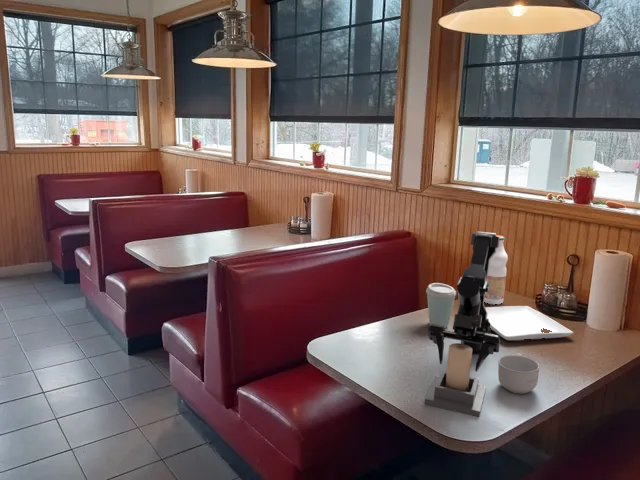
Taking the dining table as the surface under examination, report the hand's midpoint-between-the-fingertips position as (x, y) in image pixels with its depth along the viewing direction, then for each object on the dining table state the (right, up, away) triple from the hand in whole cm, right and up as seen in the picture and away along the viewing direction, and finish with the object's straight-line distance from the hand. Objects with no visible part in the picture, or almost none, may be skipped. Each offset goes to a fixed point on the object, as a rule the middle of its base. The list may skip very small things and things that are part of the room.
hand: (458, 367), depth 138 cm
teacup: (+20, -8, +11) cm, 24 cm away
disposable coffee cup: (+7, +2, +54) cm, 54 cm away
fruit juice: (+36, +8, +83) cm, 90 cm away
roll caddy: (0, -9, +3) cm, 10 cm away
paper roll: (0, -8, +3) cm, 8 cm away
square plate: (+36, +1, +55) cm, 65 cm away
